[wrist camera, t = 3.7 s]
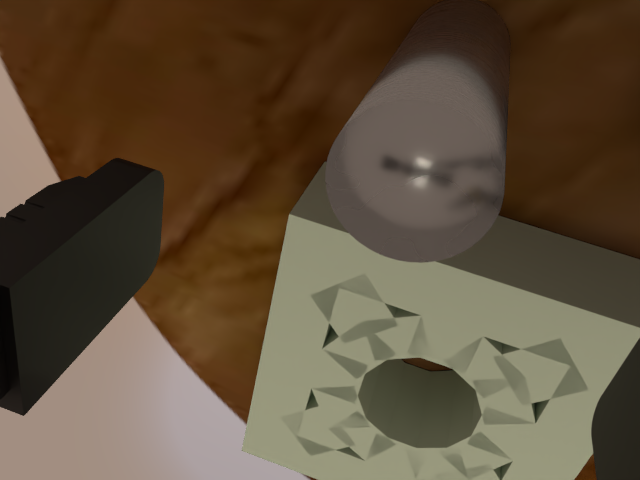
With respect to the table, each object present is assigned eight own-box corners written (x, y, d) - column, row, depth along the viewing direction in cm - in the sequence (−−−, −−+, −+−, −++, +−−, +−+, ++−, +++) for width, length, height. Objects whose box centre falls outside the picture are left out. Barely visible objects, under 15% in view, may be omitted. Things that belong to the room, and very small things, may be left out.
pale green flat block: (648, 262, 25) (673, 339, 21) (519, 469, 33) (519, 556, 29) (324, 161, 27) (289, 214, 23) (274, 381, 34) (241, 450, 30)
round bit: (526, 13, 22) (533, 131, 12) (489, 112, 24) (469, 283, 14) (423, -15, 22) (346, 76, 12) (395, 85, 24) (310, 232, 14)
